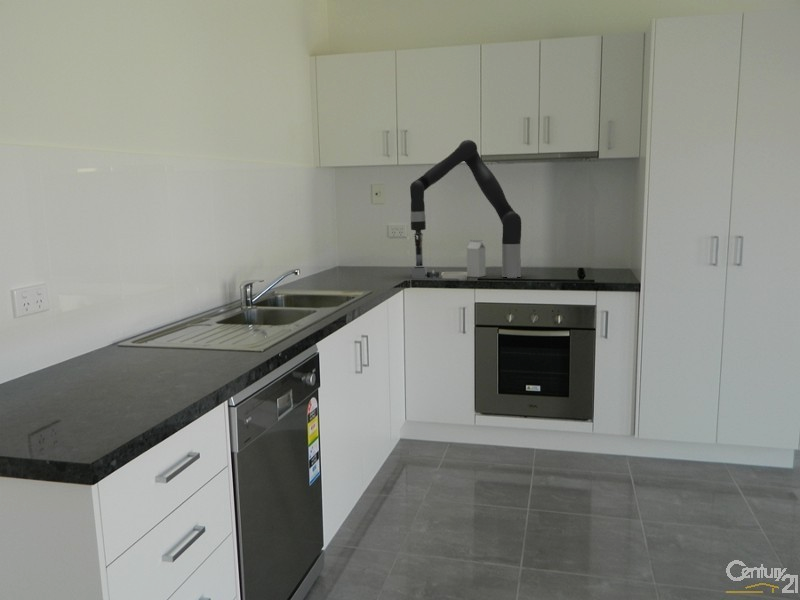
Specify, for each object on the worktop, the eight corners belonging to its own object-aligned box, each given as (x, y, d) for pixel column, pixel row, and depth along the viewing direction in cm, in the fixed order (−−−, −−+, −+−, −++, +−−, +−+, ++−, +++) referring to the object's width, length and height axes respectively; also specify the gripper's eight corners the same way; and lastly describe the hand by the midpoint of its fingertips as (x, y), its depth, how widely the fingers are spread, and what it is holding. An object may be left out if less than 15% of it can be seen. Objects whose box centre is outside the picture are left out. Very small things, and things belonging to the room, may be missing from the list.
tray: (467, 277, 348) (467, 271, 348) (466, 280, 336) (466, 274, 336) (442, 277, 350) (442, 271, 349) (440, 280, 338) (440, 274, 338)
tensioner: (440, 277, 350) (440, 266, 349) (439, 280, 340) (438, 268, 339) (413, 277, 352) (413, 266, 351) (411, 280, 342) (411, 268, 341)
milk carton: (478, 277, 346) (478, 240, 343) (466, 276, 351) (466, 240, 348) (485, 276, 352) (485, 239, 349) (473, 275, 356) (473, 239, 353)
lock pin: (423, 265, 347) (422, 242, 345) (422, 266, 343) (421, 242, 341) (416, 265, 347) (415, 242, 345) (415, 266, 344) (415, 242, 342)
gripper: (424, 220, 334) (425, 255, 337) (426, 219, 348) (427, 252, 351) (409, 221, 335) (410, 255, 338) (412, 220, 349) (413, 253, 352)
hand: (419, 254), depth 344 cm, fingers closed on lock pin, 3 cm apart
